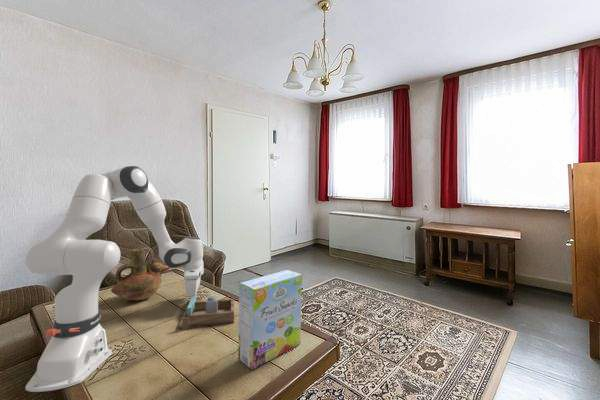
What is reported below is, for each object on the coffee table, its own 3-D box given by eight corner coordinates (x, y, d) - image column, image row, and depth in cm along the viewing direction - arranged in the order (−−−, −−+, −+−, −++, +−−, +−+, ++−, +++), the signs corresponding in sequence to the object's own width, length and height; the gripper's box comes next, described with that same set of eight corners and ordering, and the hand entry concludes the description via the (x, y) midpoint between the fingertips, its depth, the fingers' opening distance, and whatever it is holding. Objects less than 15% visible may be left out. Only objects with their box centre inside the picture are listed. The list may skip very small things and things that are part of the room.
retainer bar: (191, 315, 121) (191, 307, 121) (187, 315, 121) (187, 308, 121) (195, 302, 135) (195, 295, 135) (192, 302, 135) (192, 295, 135)
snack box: (253, 372, 86) (252, 289, 85) (237, 360, 92) (236, 282, 91) (302, 344, 102) (302, 273, 100) (286, 335, 108) (285, 268, 106)
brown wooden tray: (233, 324, 116) (233, 313, 116) (178, 330, 111) (178, 319, 111) (234, 296, 145) (234, 288, 144) (190, 300, 140) (190, 291, 140)
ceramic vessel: (173, 298, 142) (171, 249, 141) (111, 310, 129) (109, 256, 127) (168, 288, 157) (166, 243, 156) (111, 298, 143) (110, 248, 142)
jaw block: (217, 316, 121) (216, 299, 120) (205, 317, 120) (205, 300, 119) (217, 312, 125) (217, 295, 125) (207, 313, 124) (206, 296, 124)
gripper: (190, 264, 145) (190, 291, 146) (183, 277, 125) (183, 308, 126) (203, 264, 147) (203, 290, 147) (198, 276, 127) (198, 306, 127)
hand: (194, 298), depth 136 cm, fingers closed
